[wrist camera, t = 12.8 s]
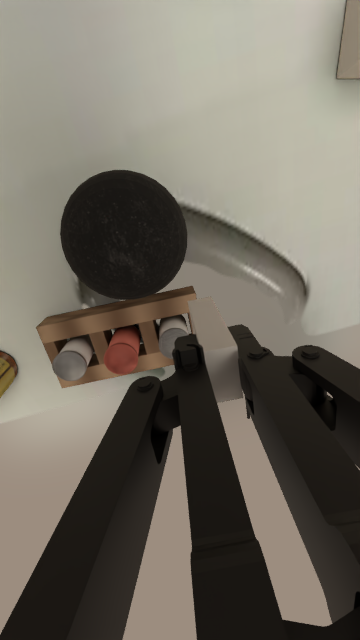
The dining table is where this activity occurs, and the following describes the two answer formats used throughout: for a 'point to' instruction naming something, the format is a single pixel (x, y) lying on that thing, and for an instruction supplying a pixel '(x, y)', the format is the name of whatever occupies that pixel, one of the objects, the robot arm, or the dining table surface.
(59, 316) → the board
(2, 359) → the sauce bottle
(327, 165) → the dining table surface
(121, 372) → the plug red
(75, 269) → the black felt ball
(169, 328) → the grey plug
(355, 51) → the milk carton
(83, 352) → the grey plug
